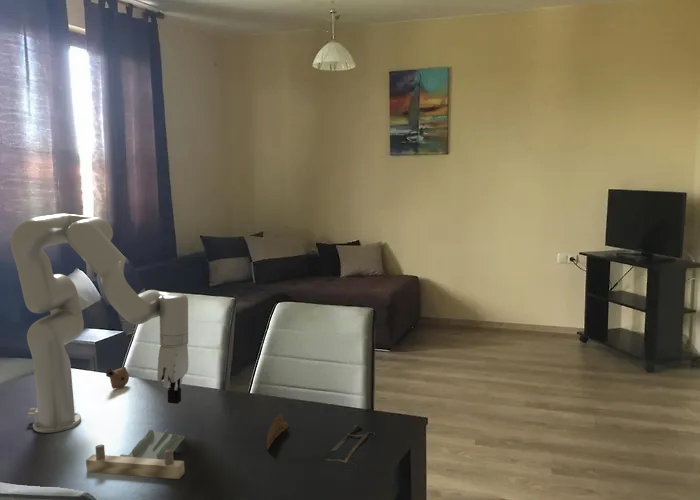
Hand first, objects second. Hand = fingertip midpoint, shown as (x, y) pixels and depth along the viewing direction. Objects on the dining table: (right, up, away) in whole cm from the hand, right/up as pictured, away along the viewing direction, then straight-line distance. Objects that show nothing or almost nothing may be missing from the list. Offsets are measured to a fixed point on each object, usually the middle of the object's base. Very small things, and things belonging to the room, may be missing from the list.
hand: (174, 402), depth 178 cm
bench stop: (-3, -11, -23) cm, 26 cm away
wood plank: (+29, -9, -6) cm, 31 cm away
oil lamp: (-28, -4, +34) cm, 44 cm away
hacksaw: (+50, -10, -12) cm, 52 cm away
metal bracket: (-1, -11, -14) cm, 18 cm away
